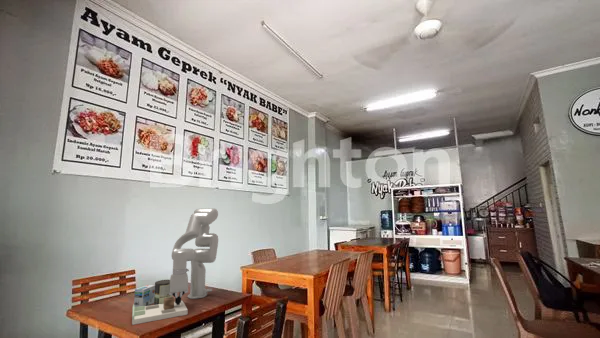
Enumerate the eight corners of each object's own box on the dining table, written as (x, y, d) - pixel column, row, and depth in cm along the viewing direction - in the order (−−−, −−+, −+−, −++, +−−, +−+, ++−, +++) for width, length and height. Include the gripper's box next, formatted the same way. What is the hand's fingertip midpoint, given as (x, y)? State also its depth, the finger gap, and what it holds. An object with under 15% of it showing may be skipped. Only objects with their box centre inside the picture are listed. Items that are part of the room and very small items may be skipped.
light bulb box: (142, 308, 171) (143, 289, 173) (133, 307, 172) (134, 289, 174) (154, 302, 181) (155, 284, 183) (145, 301, 183) (146, 284, 184)
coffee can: (150, 307, 171) (151, 283, 173) (159, 302, 181) (160, 279, 183) (166, 307, 171) (168, 283, 173) (174, 302, 181) (175, 279, 183)
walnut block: (172, 305, 167) (173, 296, 167) (173, 308, 162) (174, 299, 163) (163, 307, 164) (163, 298, 165) (164, 309, 160) (164, 300, 161)
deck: (182, 304, 176) (182, 297, 177) (187, 314, 159) (187, 306, 160) (132, 313, 163) (132, 304, 163) (132, 324, 146) (132, 315, 146)
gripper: (191, 269, 176) (190, 300, 173) (165, 272, 168) (163, 304, 165) (193, 271, 169) (192, 303, 167) (166, 274, 162) (164, 308, 159)
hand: (177, 304), depth 166 cm, fingers closed
